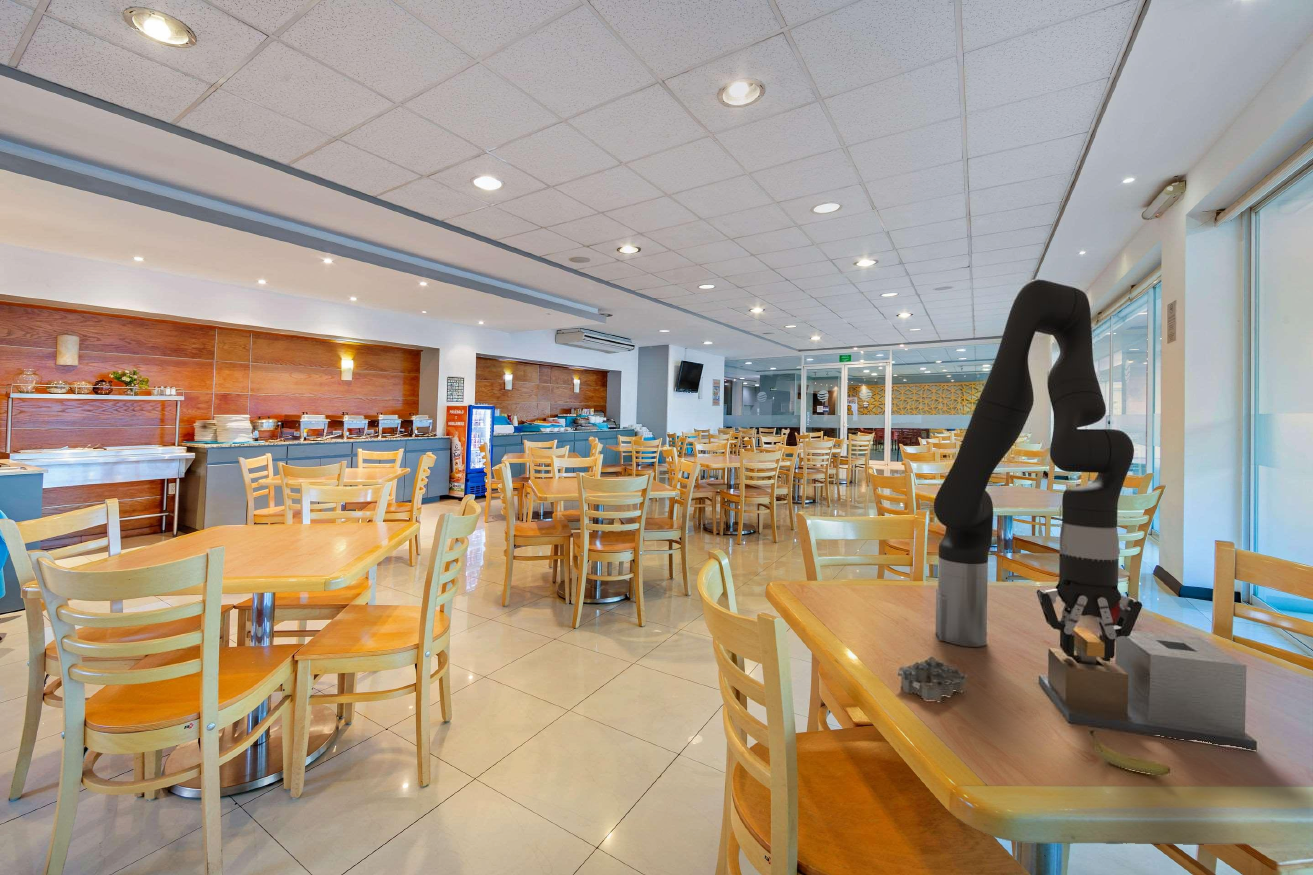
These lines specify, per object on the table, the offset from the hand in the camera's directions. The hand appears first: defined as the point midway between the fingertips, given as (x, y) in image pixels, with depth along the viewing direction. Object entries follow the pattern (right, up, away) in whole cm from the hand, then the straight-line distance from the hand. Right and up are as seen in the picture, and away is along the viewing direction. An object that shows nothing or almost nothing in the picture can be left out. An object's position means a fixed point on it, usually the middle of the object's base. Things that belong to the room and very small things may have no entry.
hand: (1086, 656), depth 88 cm
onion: (+33, -8, +34) cm, 48 cm away
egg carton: (-22, -8, +6) cm, 24 cm away
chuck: (+6, -8, -2) cm, 10 cm away
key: (0, -5, 0) cm, 5 cm away
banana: (-7, -9, -16) cm, 20 cm away
